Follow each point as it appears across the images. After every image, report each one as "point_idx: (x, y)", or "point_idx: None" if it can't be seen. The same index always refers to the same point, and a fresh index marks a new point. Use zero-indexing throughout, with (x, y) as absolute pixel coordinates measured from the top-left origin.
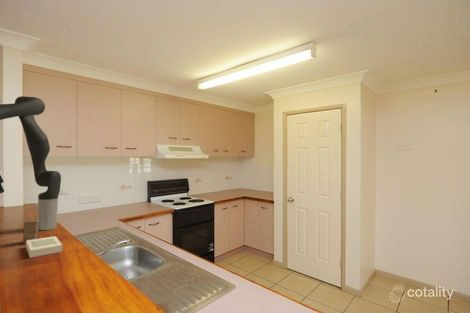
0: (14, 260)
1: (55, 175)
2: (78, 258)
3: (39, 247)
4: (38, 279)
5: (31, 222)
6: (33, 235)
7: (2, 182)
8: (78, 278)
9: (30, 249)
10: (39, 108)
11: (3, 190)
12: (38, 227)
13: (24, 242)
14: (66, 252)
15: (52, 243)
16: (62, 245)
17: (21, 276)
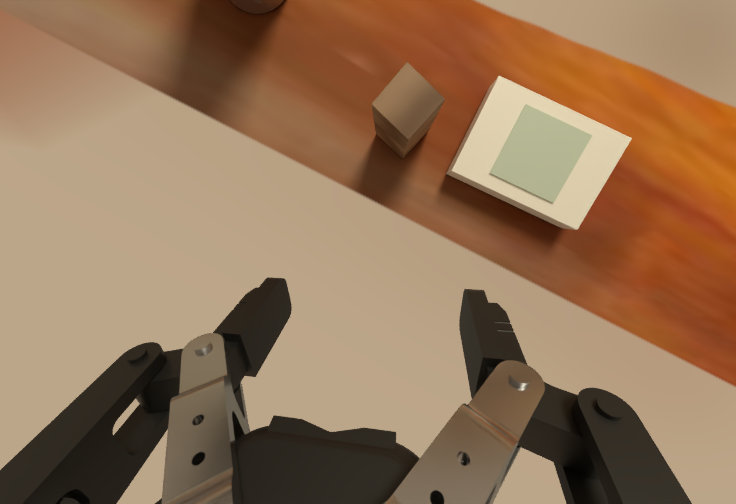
0: (533, 257)
1: None
2: (715, 157)
3: (576, 196)
4: (728, 306)
5: (430, 115)
6: (428, 127)
7: (598, 399)
8: None
9: (567, 223)
10: None
11: (499, 308)
12: (256, 4)
13: (406, 154)
14: None
15: (584, 148)
16: (629, 138)
17: (666, 312)
